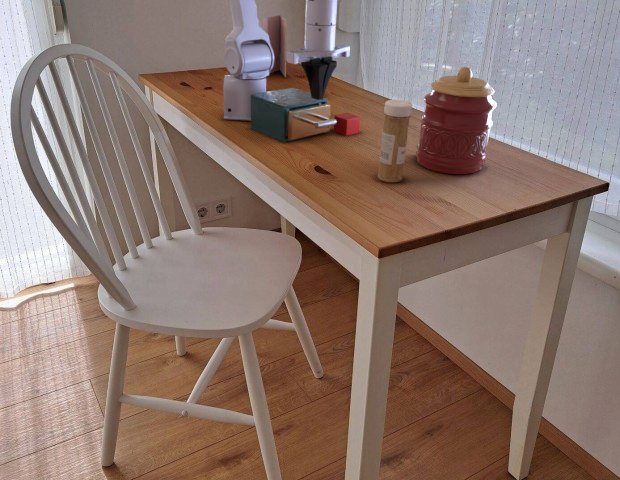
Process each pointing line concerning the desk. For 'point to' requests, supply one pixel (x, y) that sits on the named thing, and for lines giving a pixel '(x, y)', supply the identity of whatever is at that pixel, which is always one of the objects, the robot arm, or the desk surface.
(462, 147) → the kitchen canister
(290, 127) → the drawer
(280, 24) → the greeting card
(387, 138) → the sprinkles bottle
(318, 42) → the robot arm
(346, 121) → the small red toy cube
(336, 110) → the desk surface
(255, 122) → the teal box
